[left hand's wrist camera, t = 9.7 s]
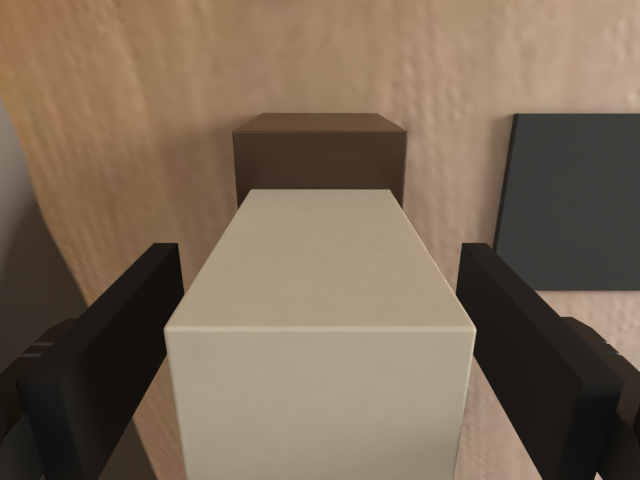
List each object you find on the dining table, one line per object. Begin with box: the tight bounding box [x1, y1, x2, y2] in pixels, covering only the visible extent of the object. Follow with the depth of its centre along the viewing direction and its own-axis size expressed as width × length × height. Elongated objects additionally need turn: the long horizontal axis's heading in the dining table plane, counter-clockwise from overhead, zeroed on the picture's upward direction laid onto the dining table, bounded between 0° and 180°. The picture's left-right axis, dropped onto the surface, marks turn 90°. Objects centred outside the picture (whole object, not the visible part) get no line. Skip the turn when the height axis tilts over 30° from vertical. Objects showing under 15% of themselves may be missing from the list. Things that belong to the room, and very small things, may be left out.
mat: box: [493, 114, 640, 290], centre depth 23 cm, size 10×10×1 cm
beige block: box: [164, 189, 476, 480], centre depth 12 cm, size 5×5×9 cm
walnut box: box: [232, 113, 408, 209], centre depth 23 cm, size 26×6×8 cm, turn 0°
